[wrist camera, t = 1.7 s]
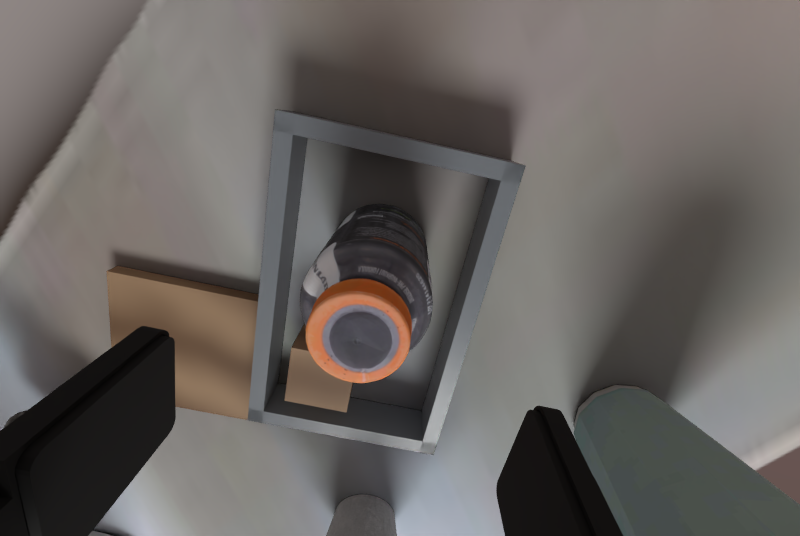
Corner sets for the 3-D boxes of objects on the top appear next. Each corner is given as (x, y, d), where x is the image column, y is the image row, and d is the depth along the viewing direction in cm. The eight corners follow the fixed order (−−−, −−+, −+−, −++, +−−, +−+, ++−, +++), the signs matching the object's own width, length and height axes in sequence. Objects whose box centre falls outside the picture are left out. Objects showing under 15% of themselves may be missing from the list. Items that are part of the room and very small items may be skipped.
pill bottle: (316, 231, 24) (243, 312, 14) (397, 184, 23) (384, 234, 13) (366, 305, 26) (334, 428, 16) (443, 265, 25) (466, 368, 14)
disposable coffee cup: (518, 408, 29) (620, 679, 15) (650, 327, 26) (929, 562, 12) (593, 489, 31) (741, 785, 17) (720, 423, 29) (1017, 709, 15)
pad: (254, 411, 30) (249, 420, 29) (124, 386, 29) (114, 395, 28) (266, 295, 26) (260, 302, 25) (117, 265, 26) (106, 271, 25)
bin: (431, 423, 29) (433, 454, 27) (263, 391, 29) (247, 420, 26) (511, 160, 23) (525, 165, 20) (292, 111, 22) (275, 109, 19)
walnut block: (355, 374, 28) (346, 412, 24) (301, 364, 28) (284, 400, 24) (364, 327, 27) (356, 360, 23) (308, 316, 27) (291, 347, 23)
